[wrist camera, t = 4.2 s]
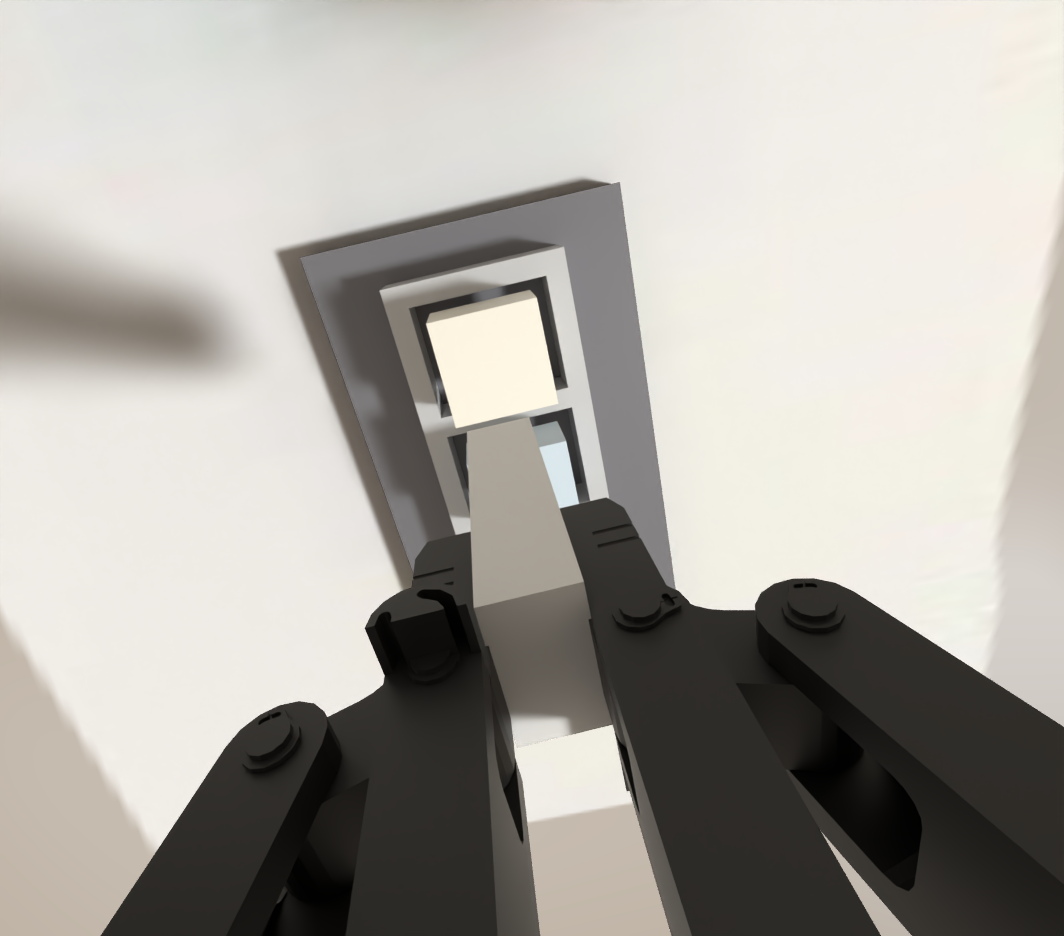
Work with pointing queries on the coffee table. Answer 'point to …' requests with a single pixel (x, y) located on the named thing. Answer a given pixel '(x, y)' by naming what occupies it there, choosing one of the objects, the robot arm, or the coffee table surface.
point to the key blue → (555, 462)
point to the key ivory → (493, 358)
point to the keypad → (571, 337)
